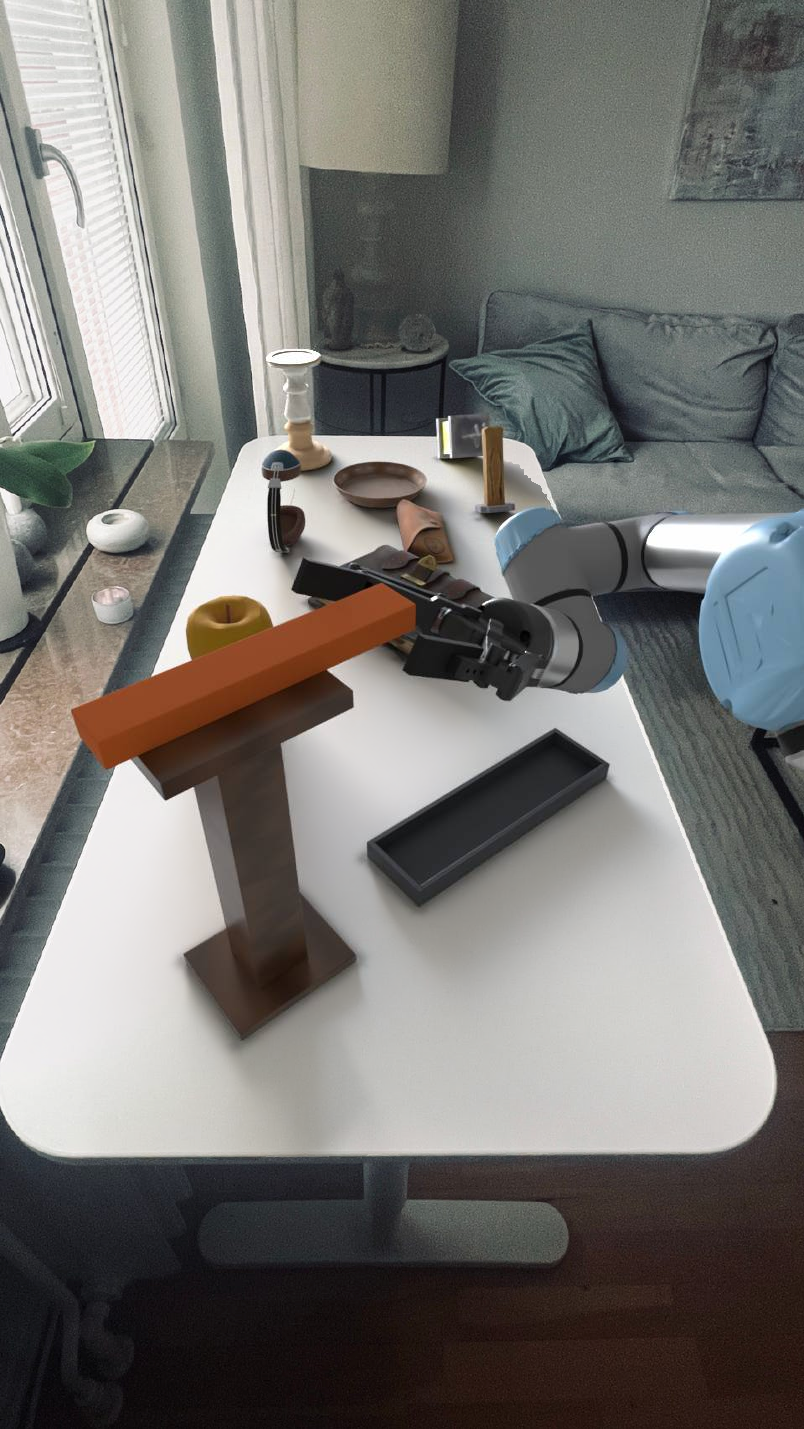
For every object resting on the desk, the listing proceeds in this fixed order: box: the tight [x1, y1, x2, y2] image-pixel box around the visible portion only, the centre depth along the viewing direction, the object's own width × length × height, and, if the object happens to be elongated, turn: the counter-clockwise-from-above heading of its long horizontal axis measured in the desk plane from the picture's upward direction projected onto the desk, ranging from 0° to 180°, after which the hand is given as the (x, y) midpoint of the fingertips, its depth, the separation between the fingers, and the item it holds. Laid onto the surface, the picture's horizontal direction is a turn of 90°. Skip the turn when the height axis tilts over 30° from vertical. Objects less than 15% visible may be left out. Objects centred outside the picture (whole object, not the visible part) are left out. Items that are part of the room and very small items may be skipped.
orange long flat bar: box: [70, 583, 416, 771], centre depth 53 cm, size 24×4×2 cm, turn 130°
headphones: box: [261, 449, 306, 554], centre depth 131 cm, size 6×15×22 cm
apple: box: [185, 594, 274, 661], centre depth 98 cm, size 11×11×13 cm
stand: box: [130, 669, 357, 1041], centre depth 62 cm, size 14×10×30 cm
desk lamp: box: [435, 412, 516, 514], centre depth 151 cm, size 8×17×30 cm
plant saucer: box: [332, 460, 428, 509], centre depth 149 cm, size 18×18×3 cm
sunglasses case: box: [395, 500, 455, 565], centre depth 135 cm, size 18×7×7 cm
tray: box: [366, 727, 611, 908], centre depth 85 cm, size 28×8×2 cm, turn 130°
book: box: [306, 544, 496, 662], centre depth 116 cm, size 26×18×7 cm
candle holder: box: [265, 348, 332, 472], centre depth 157 cm, size 12×12×20 cm
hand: (352, 612), depth 56 cm, fingers open, 13 cm apart
